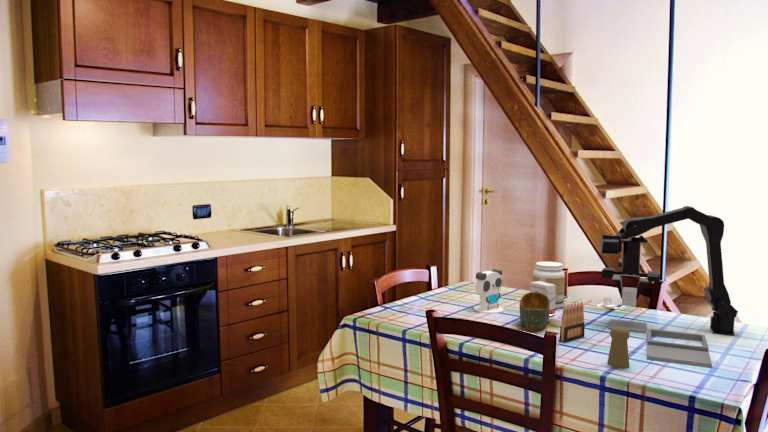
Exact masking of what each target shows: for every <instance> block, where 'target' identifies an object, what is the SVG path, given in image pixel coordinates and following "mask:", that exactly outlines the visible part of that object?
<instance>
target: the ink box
mask: <svg viewBox="0 0 768 432" xmlns="http://www.w3.org/2000/svg"><path fill="white" fill-rule="evenodd" d="M529 288H530V289H529V293H530V292H536V291H537V292H539V293H542V294H544V295H546V296H547V297H548V298H549V302H550V308H549V314H554V313H555V314H556V309H555V285H554V284H550V283H546V282H542V281H536V282H533V281H530V282H529Z"/></svg>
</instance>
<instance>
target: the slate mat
mask: <svg viewBox="0 0 768 432" xmlns="http://www.w3.org/2000/svg"><path fill="white" fill-rule="evenodd" d="M613 327H624V328H627V329H628V330H629V332H631V333H632V332H633V333H634V332H635V333H643V334H647V322H641V321H633V320H632V321H631V320H624V319H616V318H615V319H614V318H610V320H609V324H608V330H611V329H612V328H613Z"/></svg>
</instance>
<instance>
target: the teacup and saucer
mask: <svg viewBox="0 0 768 432" xmlns="http://www.w3.org/2000/svg"><path fill="white" fill-rule="evenodd" d="M602 301H603V303H599V304H598V303H597V305H596V307H598V308H600V309H605V310H616V309H617V310H618V309H619V306H618V305H615V304H612V297H611V296H603V298H602ZM602 306H604V307H602ZM615 306H617V307H615Z"/></svg>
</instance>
